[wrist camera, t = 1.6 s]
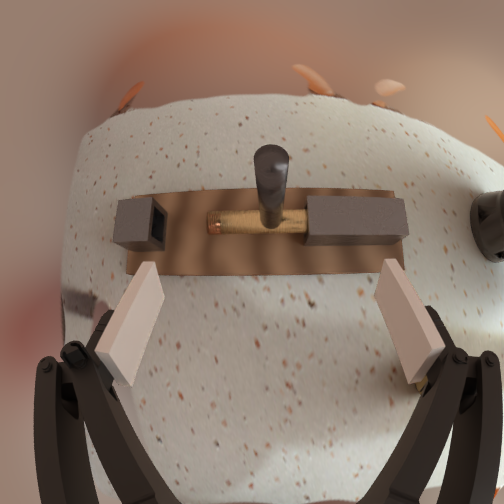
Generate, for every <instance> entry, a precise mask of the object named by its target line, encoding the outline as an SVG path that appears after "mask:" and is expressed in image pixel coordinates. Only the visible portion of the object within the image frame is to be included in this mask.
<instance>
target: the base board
mask: <svg viewBox="0 0 504 504" xmlns="http://www.w3.org/2000/svg"><path fill="white" fill-rule="evenodd" d="M307 196H357V197H381V198H395V195H394V191H386V190H367V189H341V188H286V190H285V199H284V207H283V210H295V209H303V207H304V204H305V201H306V197H307ZM146 197H153V198H154V199H155V200H156V201H157V202H158V203H159V204H160V205H161V206H162V207H163V208H164V209H165V210H166V211H167V212H168V218H167V229H166V241H165V251H153V252H132V251H130V250H128V258H127V271H126V274H130V275H135V274H136V272H137V270H138V269H139V267H140V265H141V264H142V262H155V265H156V269H157V272H158V275H181V276H249V275H314V274H350V273H378V272H381V270H382V266H383V262H384V259H396V260H397V262H398V263H399V265H400V266H401V268H402V269H403V271H404V270H405V269H404V258H403V248H402V240H400V241H398V242H397V243H395V244H393V245H357V246H304V237H303V233H277V234H222V235H208V233H207V228H206V217H207V212H208V211H237V210H259V203H258V193H257V188H249V189H222V190H203V191H187V192H173V193H161V194H150V195H139V196H135V199H136V198H146Z"/></svg>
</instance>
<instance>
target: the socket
mask: <svg viewBox="0 0 504 504" xmlns="http://www.w3.org/2000/svg"><path fill="white" fill-rule="evenodd" d="M167 218H168V212H167V211H166V210H165V209H164V208H163V207H162V206H161V205H160V204H159V203H158V202H157V201H156V200H155V199H154V198H153V197H146V198H136V199H126V200H118V206H117V213H116V219H115V227H114V234H113V242H114V243H116V244H118V245H120V246H122V247H124V248H126V249H128V250H130V251H132V252H153V251H165V241H166V229H167Z"/></svg>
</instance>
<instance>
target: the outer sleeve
mask: <svg viewBox="0 0 504 504" xmlns="http://www.w3.org/2000/svg"><path fill="white" fill-rule="evenodd" d="M303 209H307V214H308V230H309V231H308V233H303V237H304V246H357V245H393V244H395V243H397V242H398V241H400V240H402V239H403V238H405V237H406V236H408V235H409V230H408V223H407V217H406V211H405V206H404V200H403V199H400V198H381V197H357V196H307V197H306V201H305V204H304V207H303Z"/></svg>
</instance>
